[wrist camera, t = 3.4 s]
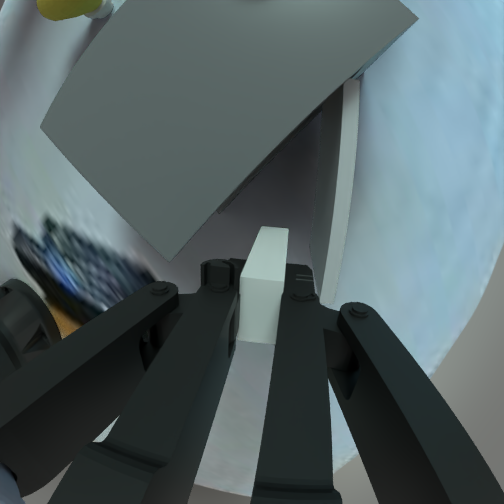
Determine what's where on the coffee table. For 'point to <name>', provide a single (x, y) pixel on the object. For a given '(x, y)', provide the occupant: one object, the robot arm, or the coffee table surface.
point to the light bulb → (74, 8)
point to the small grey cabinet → (205, 98)
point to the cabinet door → (334, 186)
